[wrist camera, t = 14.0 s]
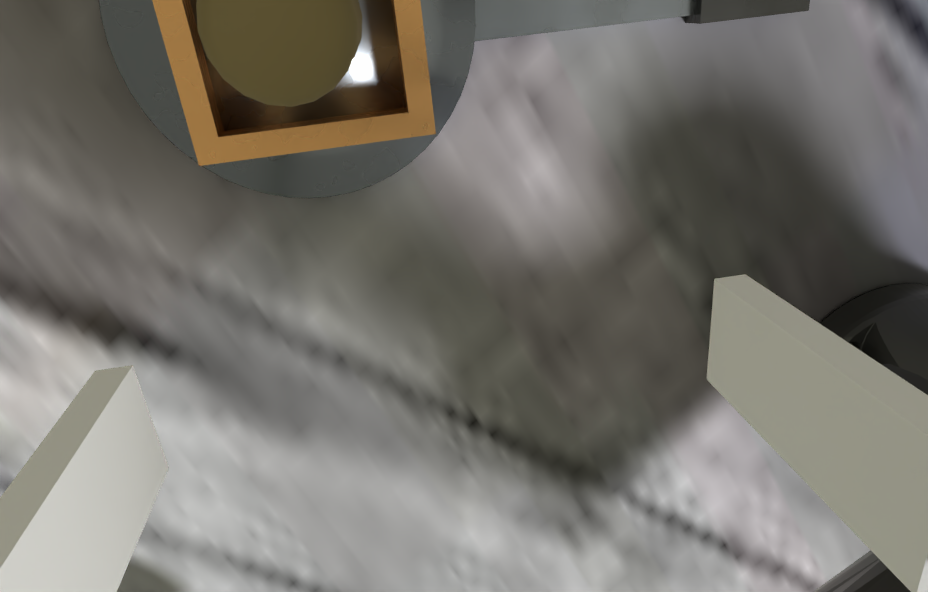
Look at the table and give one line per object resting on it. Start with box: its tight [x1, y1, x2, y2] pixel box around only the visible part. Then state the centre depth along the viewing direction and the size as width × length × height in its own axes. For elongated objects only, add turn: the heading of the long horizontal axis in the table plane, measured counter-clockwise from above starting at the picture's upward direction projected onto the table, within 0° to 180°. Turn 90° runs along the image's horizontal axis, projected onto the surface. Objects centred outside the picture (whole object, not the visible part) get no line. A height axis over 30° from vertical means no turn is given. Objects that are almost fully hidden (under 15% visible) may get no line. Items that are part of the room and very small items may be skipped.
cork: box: [196, 0, 362, 107], centre depth 25 cm, size 6×6×11 cm
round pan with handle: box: [99, 0, 810, 198], centre depth 31 cm, size 34×17×3 cm, turn 96°
